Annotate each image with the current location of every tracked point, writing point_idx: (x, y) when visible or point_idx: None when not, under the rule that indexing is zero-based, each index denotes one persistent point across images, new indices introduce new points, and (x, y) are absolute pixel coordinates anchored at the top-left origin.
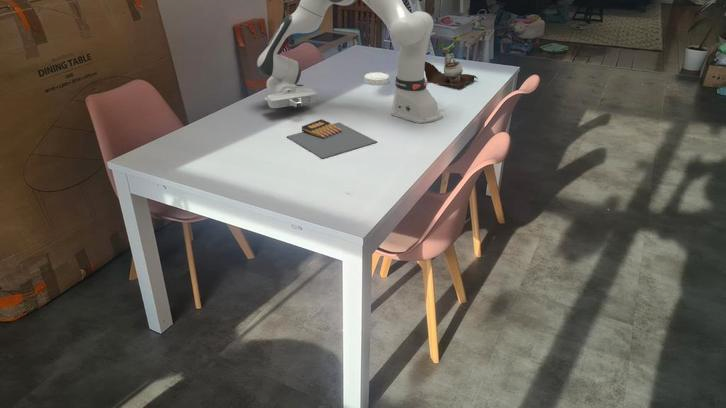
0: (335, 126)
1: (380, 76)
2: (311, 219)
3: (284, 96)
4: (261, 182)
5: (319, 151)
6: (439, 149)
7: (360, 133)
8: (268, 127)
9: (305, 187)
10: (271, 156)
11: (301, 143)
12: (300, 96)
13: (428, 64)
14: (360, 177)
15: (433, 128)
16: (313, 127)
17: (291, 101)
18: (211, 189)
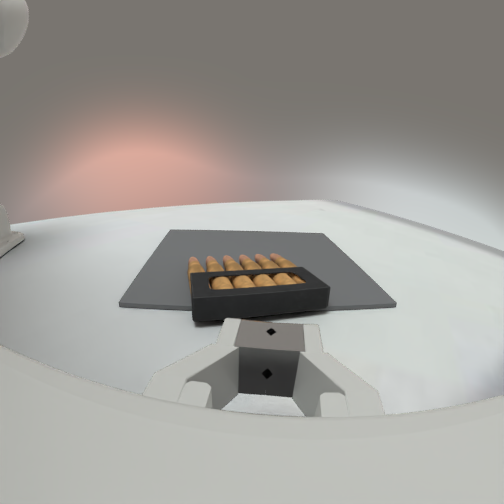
0: (194, 263)
1: None
2: (372, 209)
3: (479, 485)
4: (432, 237)
5: (319, 242)
6: (124, 210)
7: (157, 249)
8: (483, 396)
9: (371, 221)
10: (430, 263)
11: (353, 267)
12: (122, 392)
13: None
14: (288, 213)
15: (41, 229)
16: (282, 275)
17: (351, 378)
18: (489, 247)
